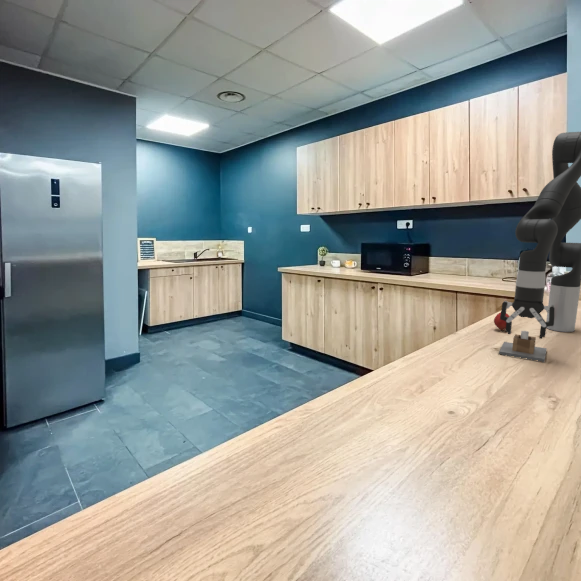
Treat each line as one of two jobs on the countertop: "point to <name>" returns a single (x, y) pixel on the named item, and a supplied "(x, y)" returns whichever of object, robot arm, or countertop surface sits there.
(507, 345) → the post stand
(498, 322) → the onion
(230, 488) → the countertop surface
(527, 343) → the ring
